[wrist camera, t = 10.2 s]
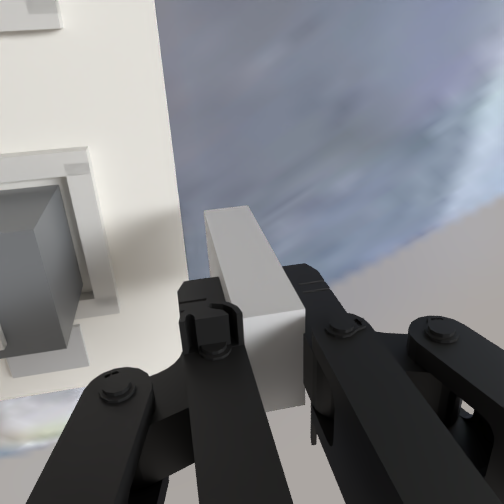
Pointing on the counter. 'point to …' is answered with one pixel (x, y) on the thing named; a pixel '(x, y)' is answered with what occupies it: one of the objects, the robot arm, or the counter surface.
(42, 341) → the grey cube
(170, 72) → the counter surface
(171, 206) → the switch board
